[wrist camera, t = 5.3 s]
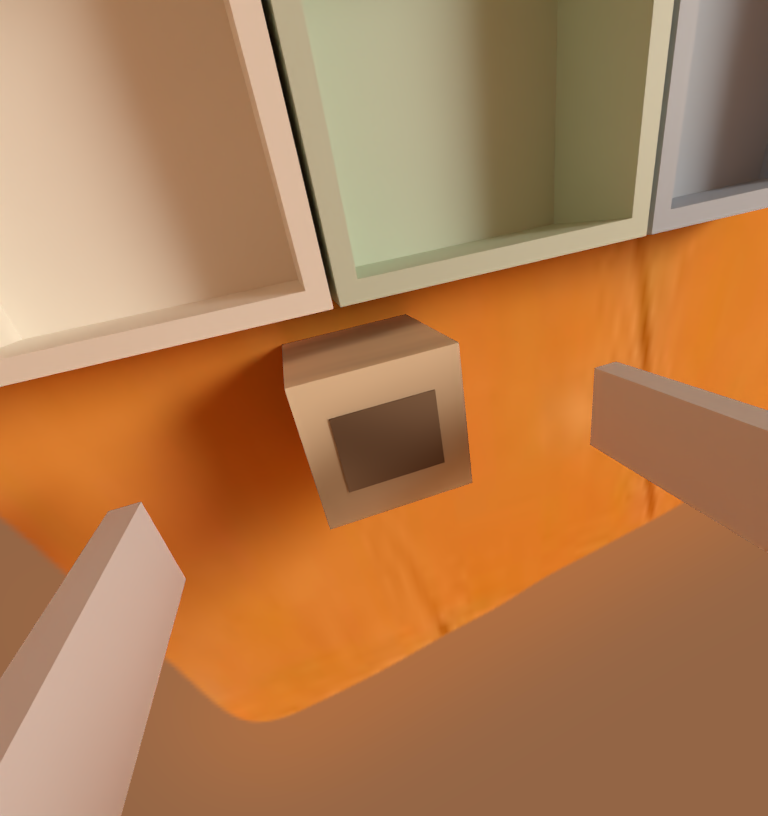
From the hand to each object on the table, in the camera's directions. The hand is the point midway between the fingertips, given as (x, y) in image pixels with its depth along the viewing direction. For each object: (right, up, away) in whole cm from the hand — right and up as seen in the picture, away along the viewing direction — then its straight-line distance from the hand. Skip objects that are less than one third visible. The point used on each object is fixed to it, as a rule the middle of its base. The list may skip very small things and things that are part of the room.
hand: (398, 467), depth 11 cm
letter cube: (-2, +3, +5) cm, 6 cm away
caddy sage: (+1, +12, +2) cm, 12 cm away
